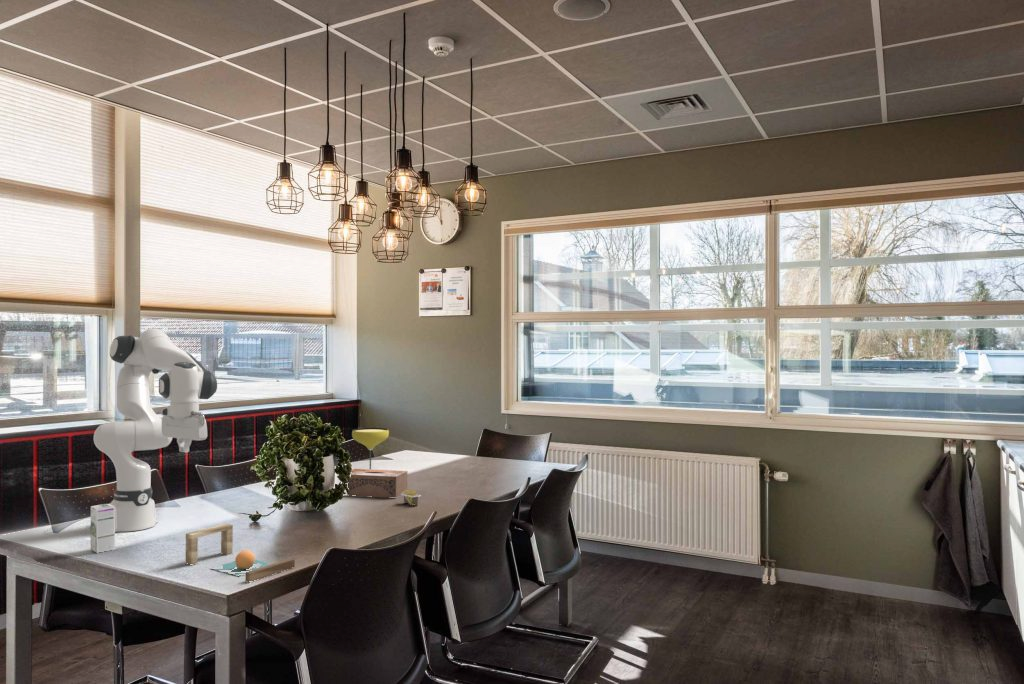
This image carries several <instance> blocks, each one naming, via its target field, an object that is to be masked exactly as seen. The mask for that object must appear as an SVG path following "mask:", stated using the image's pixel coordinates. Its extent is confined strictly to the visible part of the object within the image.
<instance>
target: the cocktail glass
mask: <svg viewBox="0 0 1024 684" xmlns="http://www.w3.org/2000/svg"><path fill="white" fill-rule="evenodd" d="M389 435H390V431H389V429H387V428H385V427H384V428H382V427H361V428H360V427H359V428H354V429H352V432H351V437H352V439H353V440H354V441H356V442H357V443H359V444H361V445H363V446H365V447H366V448H367V450H368V451H369V469H372V451H373V450H374V448H375V447H376V446H377V445H379V444H380V443H384V441H386V440H387V439H388V438H389Z"/></svg>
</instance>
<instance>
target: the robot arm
mask: <svg viewBox="0 0 1024 684" xmlns="http://www.w3.org/2000/svg"><path fill="white" fill-rule="evenodd" d="M109 356H110V358H111V360H112V361H114V362H116V363H118V364H125V365H124V366H122V368H120V370H119V373H118V375H117V381H116V409H117V411H118V412H119V413H120V414H121V415H122V416H124V417H126V418H128V419H131V420H127V421H125V420H124V421H111V422H107V423H102V424H99V426H98V427H97V428H96V429H95V430H94V433H93V443H94V445H95V447H96V448H97V449H98V450H99V451H100V452H102V453H103V454H105V455H106V456H108V458H109V459H110V460H111V461H112V463H113V465H114V468H115V476H116V489H115V490H113V492H112V494H113V497H112V498H113V500H112V501H110V503H109V504H110V505H112V506H115V533H116V532H117V533H118V532H132V531H133V532H134V531H141V530H146V529H150V528H152V527H155V525H156V524H157V523H159V518H156V507H155V506H156V504H155V500H153V499H152V497H153V487H152V486H151V482H152V481H151V480H152V479H151V478H152V476H151V475H152V471H151V470H152V468H151V466H150V465H149V463H148V462H146V461H143V460H141V459H138V458H136V457H135V456H133V454H132V453H133V452H136V451H153V450H158V449H162V448H166V447H168V446H169V445H170V444H171V443H172V441H173V439H176V443H177V445H178V449H179V452H180V453H189V452H190V447H191V445H192V442H193V441H205V440H206V439H208V426H207V421H206V418H205V415H204V414H203V412H201V411H200V400H208V399H210V398H211V397H212V396H214V394H216V392H217V390H218V380H217V378H216V377H217V376H215V375H214V374H213V373H212V372H211V371H210V370H208V369H206V368H205V367H204V366H203V365H202V364H201V362H199V361H198V360H197V359H196V358H195V357H194V355H192V354H191V353H188V352H187V351H185V350H183V349H181V348H180V347H178V346H177V345H176V344H174V343H173V341H172V340H171V337H169V335H168V334H166V333H165V332H164V331H163V330H161V329H159V328H149V329H145V330H144V331H142V333H141V334H140V336H139V337H136V336H132V335H118V336H117V337H115V338H114V339H113V340H112V342H111V344H110V346H109ZM160 371H168V372H165V373H164V374H162V375H161V376H160V377H159V379H158V394H159V395H160V396H161V397H163V398H164V399H165V400H170V401H169V405H168V406H166V407H164V408H161V410H160V413H161V416H162V417H160V416H158V414H157V413H156V412H155V411H154V409H153V407H152V403H151V394H150V381H149V379H150V378H149V377H150V374H151V372H152V374H154V375H157V374H158V373H159V372H160Z"/></svg>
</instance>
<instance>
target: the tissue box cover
mask: <svg viewBox="0 0 1024 684" xmlns="http://www.w3.org/2000/svg"><path fill="white" fill-rule="evenodd" d="M348 488H349V496H348V497H353V496H352V495H356V496H372V497H371V498H373V497H398V496H400V495H401V493H402V492H404V490H406V489H407V490H408V470H396V469H395V470H392V469H391V470H390V469H389V470H388V469H372V468H371V469H370V468H369V469H367V468H353V469H352V473H351V478H350V481H349V483H348ZM400 497H401V496H400ZM398 498H399V497H398Z"/></svg>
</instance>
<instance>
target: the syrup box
mask: <svg viewBox="0 0 1024 684" xmlns="http://www.w3.org/2000/svg"><path fill="white" fill-rule="evenodd" d="M90 550H91V551H92V552H94V553H95V552H96V554H100V553H99V552H103V553H105V552H104V551H108V552H111V551H110V550H112V551H115V550H116V532H115V506H112V505H110V503H101V504H97V505H91V506H90Z"/></svg>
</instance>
